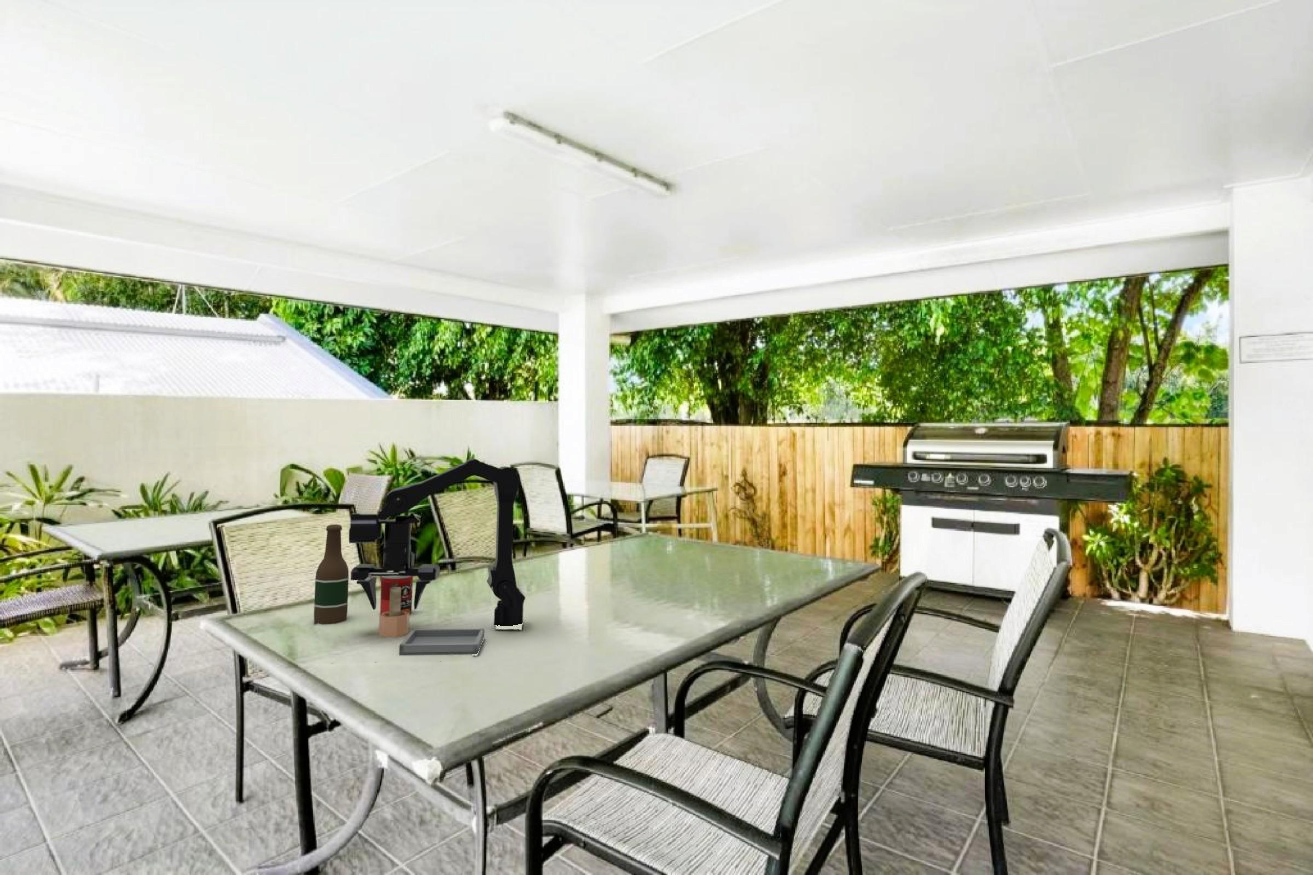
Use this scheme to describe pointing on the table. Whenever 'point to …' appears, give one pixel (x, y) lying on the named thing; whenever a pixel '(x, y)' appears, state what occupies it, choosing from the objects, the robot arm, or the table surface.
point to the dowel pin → (395, 601)
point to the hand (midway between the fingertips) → (395, 608)
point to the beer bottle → (331, 582)
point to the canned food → (406, 592)
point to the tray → (442, 642)
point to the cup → (394, 624)
